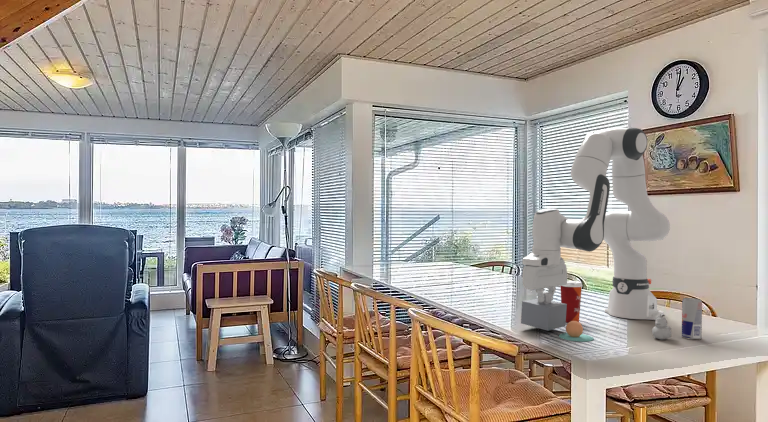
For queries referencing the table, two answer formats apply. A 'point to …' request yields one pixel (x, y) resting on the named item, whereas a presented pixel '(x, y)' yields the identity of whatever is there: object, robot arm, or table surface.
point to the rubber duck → (661, 329)
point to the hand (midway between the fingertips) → (545, 301)
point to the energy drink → (692, 318)
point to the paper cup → (571, 299)
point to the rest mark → (581, 338)
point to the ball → (574, 329)
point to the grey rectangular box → (544, 313)
